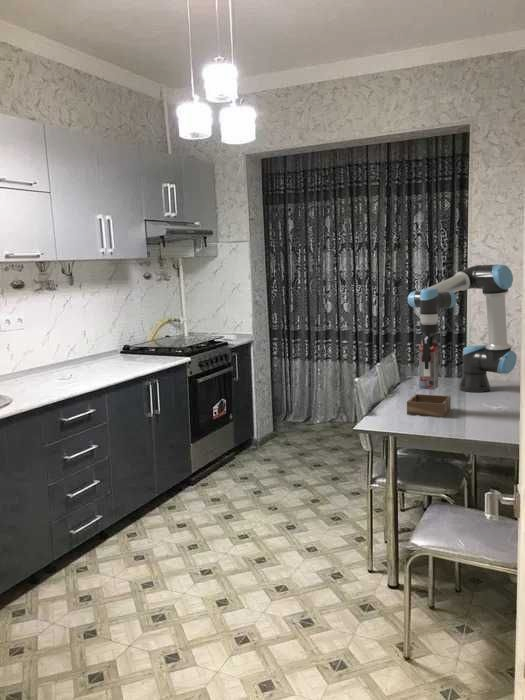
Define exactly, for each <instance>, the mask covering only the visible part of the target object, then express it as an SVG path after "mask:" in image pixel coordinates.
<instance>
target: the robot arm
mask: <svg viewBox="0 0 525 700" xmlns="http://www.w3.org/2000/svg"><path fill="white" fill-rule="evenodd" d="M513 283H514V276H513V273H512V270H511V268H509V266H507V265H505V264H498V263H497V264H496V263H495V264H480V265H479V264H478V265H477V264H476V265H472V266H470V267H467V268H465V269H463V270H460V271H458V272H456V273H455V274H454V275H453V276H452V277H449V278H448V279H445V280H443V281H441V282H438V283H436V284H433V285H431V286H429V287H427V288H422V289H420V291H417V290H416V291H410V293H409V294H408V296H407V303H408V305H409V306H410V307H411V308H416V309H418V308H419V309H420V310H419V311H420V313H419V316H418V318H419V319H420V322H419V323H420V325H419V331H420V333H421V334H423V333H424V336H423V338H422V339H423V359H422V362H424V376H430V347H431V346H432V341H433V339H434V340H436V339H435V338H436V335H434V334H435V333H438V331H439V330H438V329H439V327H438V326H439V325H438V323H439V314H438V313H439V311H438V310H443V309H451V308H453V307H455V306H456V304H457V296H456V294H455V293H458V292H459V291H463V292H464V291H466V290H469V289H477V290H480V289H481V290H482V291H481V292H482V295H484V297H485V300H486V319H487V336H488V337H487V338H488V339H487V340H488V344H487V345H486V344H477V345H469V346H466V347H465V346H464V348H463V350H462V376H461V379H460V382H459V385H458V386H459V387H458V388H459V391H462V392H467V393H485V392H484V391H486V392H488V390H489V391H491V384H490V382H489V379H488V375H487V372H488V373H489V372H490V373H496V374H499V375H500V374H501V375H502V374H503V375H504V374H506V375H507V374H510V373H511V372H512V371H513V370H514V368H515V366H516V364H517V357H518V356H517V354H516V352H515V351H513V350H512V345H511V344H509V343H508V332H507V331H508V330H507V328H508V327H507V310H506V294H508V292H509V289H510V288H511V287H512V285H513Z"/></svg>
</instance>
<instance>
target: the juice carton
mask: <svg viewBox="0 0 525 700" xmlns="http://www.w3.org/2000/svg"><path fill="white" fill-rule="evenodd" d="M423 339H424V338H421V343H420V345H419V348H418V350H419V351H418V354H419V355H418V356H419V357H418V363H419V365H418V368H419V369H418V384H419V385H418V389H420V390H431V391H433V390H436V389H437V388H439V345H438V343H437V339H435V340H434V339H433V341H432V346H431V347H430V376H424V362H422V359H423Z"/></svg>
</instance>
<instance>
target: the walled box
mask: <svg viewBox="0 0 525 700" xmlns="http://www.w3.org/2000/svg"><path fill="white" fill-rule="evenodd" d="M451 402H452V401H451V396H450V395H449V396H447V395H438V394H437V395H434V394H422V393H421V394H420V393H414V395H412V396H411V398H409V399H408V400H407V401H406V415H407V414H411V415H410V416H416V415H420V416H419V417H428V416H434V417H433V418H440V417H444V416H445V417H446V415H447V414H448V413H449V412H450V411H451V408H452V407H451ZM435 416H436V417H435ZM445 417H444V418H445Z"/></svg>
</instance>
